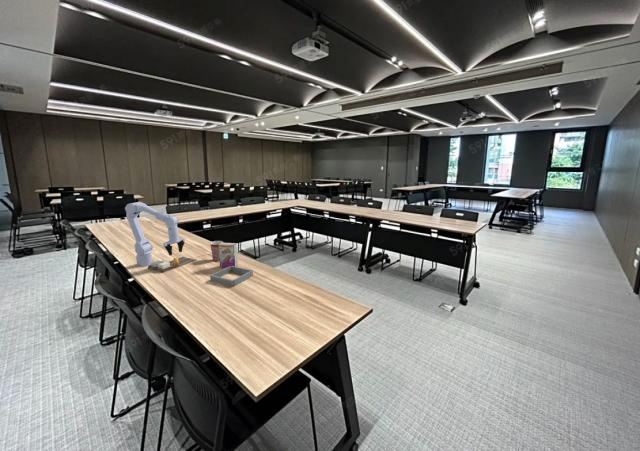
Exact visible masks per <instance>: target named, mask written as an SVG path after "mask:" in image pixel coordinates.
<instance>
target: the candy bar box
mask: <svg viewBox="0 0 640 451" xmlns="http://www.w3.org/2000/svg"><path fill="white" fill-rule="evenodd" d="M237 244H238V243H237V242H236V243H235V242H233V243H232V242H223V243H220V244H219V245H218V247H219V267H220V268H227V267H229V266H235V267H239V266H238V265H239V261H238V247H237V246H238V245H237Z"/></svg>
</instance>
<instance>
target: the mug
mask: <svg viewBox="0 0 640 451" xmlns="http://www.w3.org/2000/svg"><path fill="white" fill-rule="evenodd" d="M220 243H224V241H222V240H214V241H211V242H210V243H209V245H210V250H211V256H212V261H213V262H216V263H218V262H219V263H220V261H219V247H218V245H219V244H220Z"/></svg>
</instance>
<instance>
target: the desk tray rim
mask: <svg viewBox="0 0 640 451" xmlns="http://www.w3.org/2000/svg"><path fill="white" fill-rule="evenodd" d="M232 272H233V273H237V274H241V275H240V276H238V277H236V278H234V279H230V278H226V277H224V276H226V275H228V274H230V273H232ZM209 277H210V282H213V283H215V284H220V285H224V286H228V287H232V288H233V287H237V286H238V285H239V284H241V283H243V282H244V281H246V280H249V279H250V278H252V277H254V270H253V269H249V268H244V267H239V266H237V267H235V266H229V267H224V268H223V269H221V270H218V271H217V272H214V273H212V274H210V276H209Z"/></svg>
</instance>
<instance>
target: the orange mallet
mask: <svg viewBox="0 0 640 451" xmlns="http://www.w3.org/2000/svg"><path fill="white" fill-rule="evenodd" d="M178 258H179V257H173V258H172V260H173V261H174V265H176V264H178V265H179V261H178ZM169 262H170V261H164V262H162V263H159V264H158V268H161V269H165V268H168V267H170V263H169ZM172 266H173V265H172Z"/></svg>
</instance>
